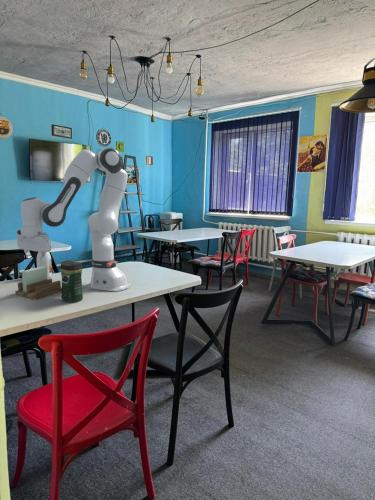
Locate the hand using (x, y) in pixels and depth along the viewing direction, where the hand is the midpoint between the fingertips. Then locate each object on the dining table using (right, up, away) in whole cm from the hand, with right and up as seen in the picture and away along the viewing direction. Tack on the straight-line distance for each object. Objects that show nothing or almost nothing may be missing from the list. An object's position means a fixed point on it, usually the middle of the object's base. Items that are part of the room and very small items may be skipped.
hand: (35, 259), depth 169 cm
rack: (+2, -17, +1) cm, 17 cm away
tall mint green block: (-1, -15, +2) cm, 15 cm away
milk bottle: (-8, -11, +30) cm, 33 cm away
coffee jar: (+21, -19, -7) cm, 29 cm away
